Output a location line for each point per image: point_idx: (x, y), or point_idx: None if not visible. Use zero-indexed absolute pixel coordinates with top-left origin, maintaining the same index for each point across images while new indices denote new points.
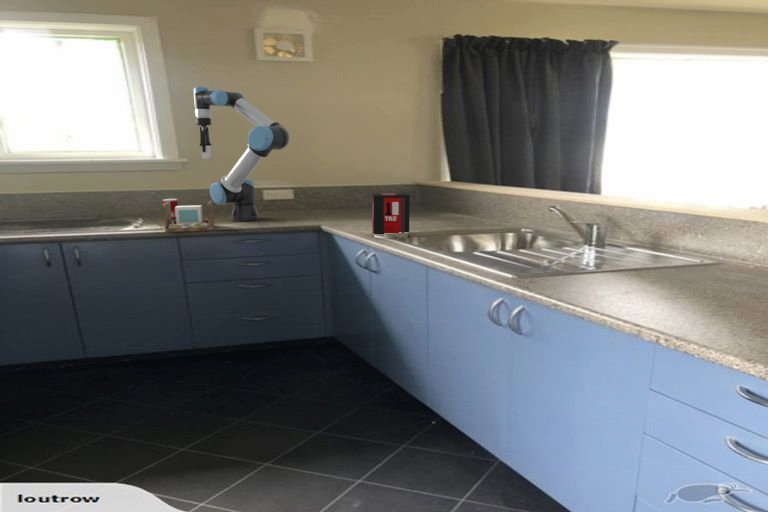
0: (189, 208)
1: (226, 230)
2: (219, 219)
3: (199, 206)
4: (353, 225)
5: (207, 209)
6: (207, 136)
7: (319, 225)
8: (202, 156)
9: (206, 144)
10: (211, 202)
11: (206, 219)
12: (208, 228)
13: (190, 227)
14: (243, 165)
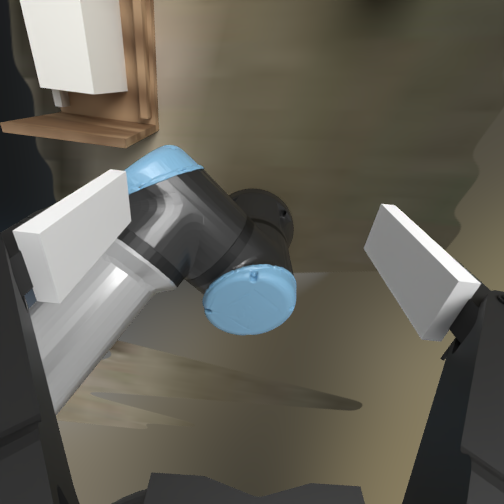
0: (31, 31)
1: (62, 164)
2: (283, 150)
3: (47, 84)
4: (113, 390)
5: (18, 119)
6: (407, 500)
7: (120, 351)
8: (101, 180)
9: (475, 319)
10: (91, 142)
11: (143, 105)
12: (62, 109)
13: None
14: None
